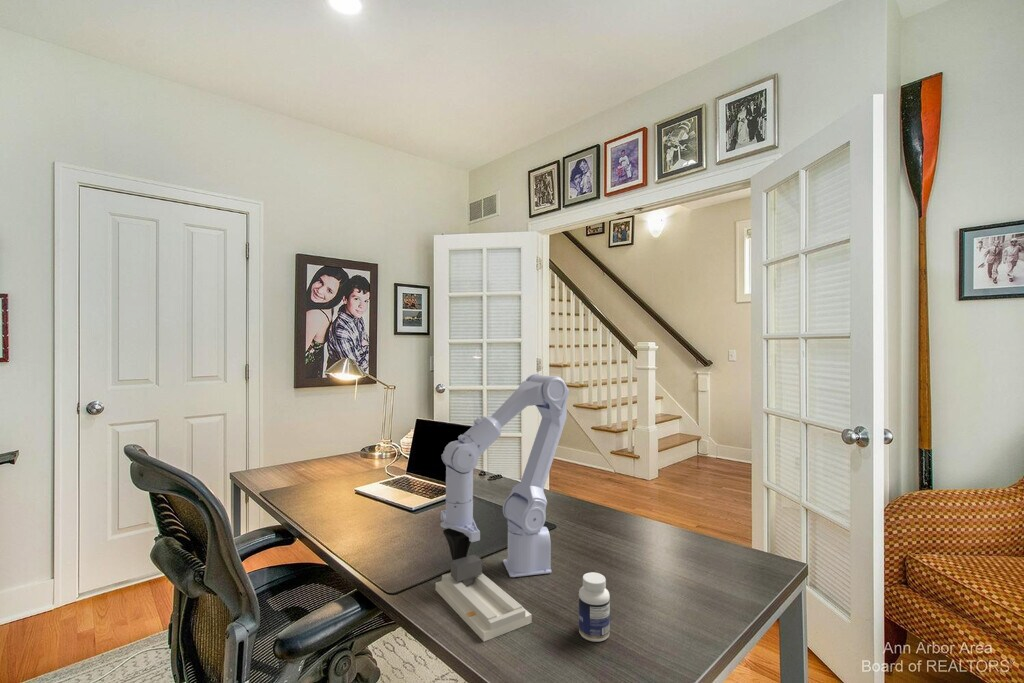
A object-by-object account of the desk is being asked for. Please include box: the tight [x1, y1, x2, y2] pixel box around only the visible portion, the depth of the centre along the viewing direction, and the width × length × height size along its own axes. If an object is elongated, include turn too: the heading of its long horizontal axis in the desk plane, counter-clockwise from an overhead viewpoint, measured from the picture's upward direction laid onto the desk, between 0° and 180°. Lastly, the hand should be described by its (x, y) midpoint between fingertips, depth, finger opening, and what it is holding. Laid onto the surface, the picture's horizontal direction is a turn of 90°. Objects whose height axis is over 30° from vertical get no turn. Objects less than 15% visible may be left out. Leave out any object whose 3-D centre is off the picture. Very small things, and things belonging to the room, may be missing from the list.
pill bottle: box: [578, 571, 611, 643], centre depth 82 cm, size 5×5×10 cm
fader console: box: [435, 572, 533, 642], centre depth 91 cm, size 20×10×3 cm, turn 33°
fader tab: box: [450, 554, 483, 586], centre depth 96 cm, size 3×6×5 cm, turn 123°
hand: (458, 564), depth 98 cm, fingers closed
